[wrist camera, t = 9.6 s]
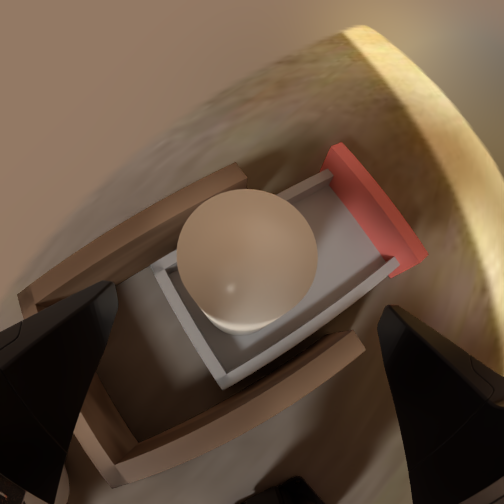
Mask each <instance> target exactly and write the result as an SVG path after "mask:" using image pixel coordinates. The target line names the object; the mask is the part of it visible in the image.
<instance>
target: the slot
mask: <svg viewBox="0 0 504 504" xmlns="http://www.w3.org/2000/svg"><path fill="white" fill-rule="evenodd" d="M237 189H247V177H246V175H245V174H244V173H243V171H242V170H241V169H240V167H239V166H238V165H237V163H236V162H235V163H233V164H231V165H229V166H227V167H224V168H222V169H220V170H218V171H216V172H214V173H212V174H210V175H208V176H206V177H204V178H202V179H200V180H198V181H196V182H194V183H192V184H191V185H189V186H187V187H185V188H183V189H181V190H179V191H177V192H175V193H174V194H172V195H170V196H168V197H166V198H164V199H163V200H161V201H159V202H157V203H155V204H154V205H152V206H150V207H148V208H146V209H145V210H143V211H141V212H140V213H138V214H136V215H134V216H133V217H131V218H129V219H128V220H126V221H124V222H123V223H121V224H119V225H118V226H116V227H114V228H113V229H111V230H109V231H108V232H106V233H105V234H103V235H102V236H100V237H98V238H97V239H95V240H94V241H92V242H91V243H89V244H87V245H86V246H84V247H83V248H81V249H80V250H78V251H77V252H75V253H74V254H72V255H71V256H69V257H68V258H67V259H65V260H64V261H62V262H61V263H59V264H58V265H56V266H55V267H54V268H52V269H51V270H49V271H48V272H47V273H45V274H44V275H42V276H41V277H40V278H38V279H37V280H36V281H34V282H33V283H32V284H30V285H29V286H28V287H26V288H25V289H24V290H22V291H21V292H20V293H19V294H17V296H18V300H19V304H20V307H21V311H22V314H23V318H24V319H26V318H28V317H30V316H32V315H34V314H36V313H38V312H40V311H41V310H43V309H45V308H47V307H49V306H51V305H53V304H55V303H57V302H59V301H61V300H63V299H65V298H67V297H69V296H71V295H73V294H75V293H77V292H79V291H81V290H83V289H85V288H87V287H89V286H91V285H93V284H95V283H97V282H99V281H102V280H106V281H112V282H113V283H114V284H115V286H116V285H118V284H119V283H121V282H123V281H124V280H126V279H128V278H129V277H131V276H133V275H134V274H136V273H138V272H139V271H141V270H143V269H144V268H146V267H148V266H149V265H151V264H152V263H154V262H156V261H157V260H159V259H161V258H163V257H164V256H166V255H168V254H169V253H171V252H173V251H175V250H176V249H177V243H178V239H179V236H180V233H181V230H182V228H183V226H184V224H185V222H186V221H187V219H188V218H189V216H190V215H191V214H192V213H193V212H194V211H195V210H196V209H197V208H198V207H199V206H200V205H201V204H202V203H204V202H205V201H207V200H208V199H210V198H212V197H214V196H216V195H218V194H220V193H224V192H227V191H231V190H237ZM365 350H366V349H365V347H364V346H363V344H362V343H361V341H360V339H359V338H358V336H357V335H356V333H355V332H354V330H349V331H344V332H338V333H332V334H327V335H326V336H324V337H323V338H321V339H320V340H319V341H317V342H316V343H315V344H313V345H312V346H310V347H309V348H307V349H306V350H305V351H303V352H302V353H300V354H299V355H297V356H296V357H294V358H293V359H291V360H290V361H288V362H287V363H285V364H284V365H282V366H281V367H279V368H278V369H276V370H275V371H273V372H271V373H270V374H268V375H267V376H265V377H264V378H262V379H260V380H259V381H257V382H255V383H254V384H252V385H250V386H249V387H247V388H245V389H244V390H242V391H240V392H239V393H237V394H235V395H233V396H232V397H230V398H228V399H226V400H225V401H223V402H221V403H219V404H217V405H216V406H214V407H212V408H210V409H208V410H206V411H205V412H203V413H201V414H199V415H197V416H195V417H193V418H191V419H189V420H187V421H185V422H183V423H181V424H179V425H177V426H175V427H173V428H171V429H169V430H167V431H164V432H162V433H160V434H158V435H156V436H153V437H151V438H149V439H147V440H144V441H142V442H140V443H138V442H137V440H136V439H135V437H134V436H133V435H132V433H131V431H130V430H129V428H128V427H127V425H126V424H125V422H124V421H123V419H122V417H121V416H120V414H119V413H118V411H117V409H116V408H115V406H114V404H113V402H112V401H111V399H110V397H109V395H108V394H107V392H106V390H105V388H104V386H103V384H102V383H101V381H100V379H99V377H98V375H97V373H96V371H95V374H94V377H93V379H92V382H91V384H90V387H89V389H88V392H87V395H86V397H85V400H84V403H83V406H82V409H81V411H80V414H79V417H78V420H77V423H76V426H75V429H74V432H73V433H74V434H75V436H76V438H77V439H78V441H79V442H80V444H81V446H82V447H83V449H84V450H85V452H86V453H87V455H88V456H89V458H90V459H91V461H92V462H93V464H94V465H95V467H96V468H97V469H98V471H99V472H100V474H101V475H102V476H103V478H104V479H105V480H106V482H107V483H108V484H109V486H110V487H111V488H116V487H119V486H122V485H126V484H129V483H132V482H135V481H138V480H141V479H144V478H146V477H149V476H152V475H155V474H157V473H160V472H163V471H165V470H168V469H170V468H173V467H175V466H177V465H180V464H182V463H184V462H187V461H189V460H191V459H194V458H196V457H198V456H200V455H202V454H204V453H207V452H209V451H211V450H213V449H215V448H217V447H219V446H221V445H223V444H225V443H227V442H229V441H231V440H232V439H234V438H236V437H238V436H240V435H242V434H244V433H245V432H247V431H249V430H251V429H253V428H254V427H256V426H258V425H259V424H261V423H263V422H265V421H266V420H268V419H270V418H271V417H273V416H275V415H276V414H278V413H279V412H281V411H283V410H284V409H286V408H287V407H289V406H290V405H292V404H293V403H295V402H296V401H298V400H299V399H301V398H302V397H304V396H305V395H307V394H308V393H310V392H311V391H313V390H314V389H316V388H317V387H318V386H320V385H321V384H323V383H324V382H325V381H327V380H328V379H329V378H331V377H332V376H333V375H335V374H336V373H337V372H339V371H340V370H341V369H343V368H344V367H345V366H346V365H348V364H349V363H350V362H352V361H353V360H354V359H355V358H357V357H358V356H359V355H360V354H361V353H363V352H364V351H365Z"/></svg>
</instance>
